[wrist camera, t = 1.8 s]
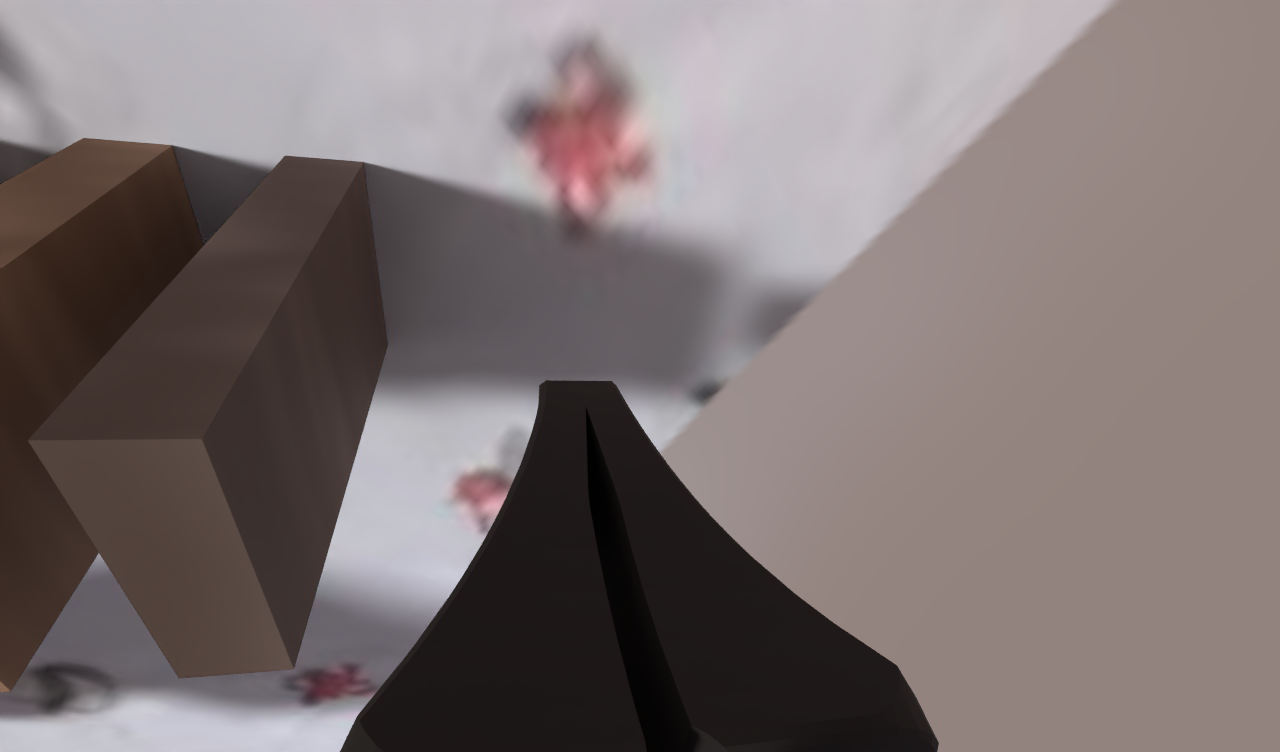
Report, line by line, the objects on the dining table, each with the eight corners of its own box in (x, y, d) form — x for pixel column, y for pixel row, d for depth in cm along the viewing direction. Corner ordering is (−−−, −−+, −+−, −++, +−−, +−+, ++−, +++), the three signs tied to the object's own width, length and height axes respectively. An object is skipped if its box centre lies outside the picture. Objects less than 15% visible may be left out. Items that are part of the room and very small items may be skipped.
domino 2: (363, 162, 14) (202, 439, 7) (387, 344, 17) (294, 669, 10) (285, 155, 13) (27, 440, 6) (324, 343, 16) (178, 678, 9)
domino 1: (172, 145, 13) (-241, 441, 6) (233, 340, 16) (10, 691, 9) (83, 138, 12) (-467, 442, 5) (163, 339, 15) (-127, 702, 8)
